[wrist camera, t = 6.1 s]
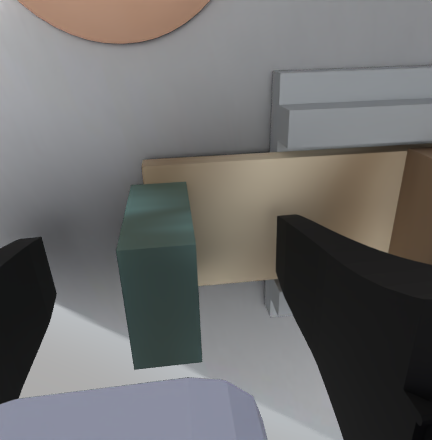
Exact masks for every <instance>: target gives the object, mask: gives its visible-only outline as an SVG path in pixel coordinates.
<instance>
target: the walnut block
mask: <svg viewBox="0 0 432 440" xmlns="http://www.w3.org/2000/svg"><path fill="white" fill-rule="evenodd" d="M388 253H389V254H393V255H396V256H399V257H402V258H406V259H410V260H413V261H417V262H422V263H426V264H430V265H432V147H419V148H408V151H407V156H406V161H405V166H404V172H403V177H402V182H401V187H400V193H399V198H398V203H397V208H396V214H395V219H394V224H393V230H392V235H391V240H390V245H389V251H388Z"/></svg>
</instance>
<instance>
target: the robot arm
mask: <svg viewBox="0 0 432 440" xmlns="http://www.w3.org/2000/svg"><path fill="white" fill-rule="evenodd" d="M276 274H277V277H278V280H279V284H280V287H281V290H282V293H283V295H284V298H285V300H286V302H287V304H288V306H289V308H290V310H291V312H292V314H293V316H294V318H295V320H296V322H297V324H298V326H299V328H300V330H301V332H302V334H303V336H304V338H305V340H306V342H307V344H308V346H309V348H310V350H311V352H312V354H313V356H314V358H315V361H316V363H317V365H318V368H319V371H320V373H321V376H322V379H323V381H324V384H325V387H326V390H327V392H328V395H329V398H330V401H331V404H332V407H333V410H334V412H335V415H336V418H337V421H338V424H339V427H340V430H341V433H342V436H343V439H344V440H432V265H430V264H426V263H422V262H417V261H413V260H410V259H406V258H402V257H399V256H396V255H393V254H389V253H386V252H383V251H380V250H377V249H374V248H372V247H369V246H367V245H364V244H362V243H359V242H357V241H354V240H352V239H350V238H347V237H345V236H343V235H341V234H339V233H336V232H334V231H332V230H330V229H328V228H326V227H324V226H322V225H320V224H318V223H316V222H314V221H312V220H310V219H307V218H305V217H303V216H300V215H297V214H292V215H281V216H277V236H276ZM56 294H57V293H56V289H55V286H54V282H53V278H52V275H51V271H50V267H49V263H48V260H47V256H46V252H45V249H44V245H43V241H42V237H37V238H26V239H19V240H17V241H14V242H12V243H10V244H8V245H6V246H4V247H2V248H1V249H0V440H267V436H266V432H265V428H264V424H263V420H262V417H261V415H260V412H259V410H258V407H257V405H256V402H255V400H254V397H253V396H252V395H250V394H249V393H247V392H245V391H243V390H242V389H240V388H238V387H237V386H235V385H233V384H231V383H230V382H228V381H226V380H220V379H205V378H189V377H187V378H179V379H171V380H163V381H156V382H147V383H139V384H131V385H123V386H115V387H108V388H100V389H91V390H84V391H76V392H67V393H59V394H53V395H43V396H35V397H28V398H20V399H18V398H19V396H20V393H21V390H22V387H23V385H24V383H25V380H26V378H27V375H28V373H29V371H30V368H31V366H32V364H33V361H34V359H35V357H36V354H37V352H38V349H39V347H40V345H41V342H42V339H43V337H44V335H45V333H46V330H47V328H48V325H49V322H50V319H51V315H52V312H53V308H54V303H55V299H56Z"/></svg>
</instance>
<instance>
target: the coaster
mask: <svg viewBox="0 0 432 440" xmlns="http://www.w3.org/2000/svg"><path fill="white" fill-rule="evenodd" d="M18 1H19V2H20V3H21V4H22V5H24V6H25V7H26V8H27V9H29V10H30V11H31V12H32V13H34V14H35V15H36V16H38V17H39V18H41V19H43V20H44V21H46V22H48V23H49V24H51V25H52V26H54V27H56V28H58V29H61V30H63V31H65V32H67V33H69V34H72V35H75V36H78V37H81V38H84V39H87V40H92V41H97V42H103V43H118V44H126V43H136V42H142V41H146V40H150V39H154V38H157V37H160V36H162V35H165V34H167V33H170V32H172V31H173V30H175V29H177V28H178V27H180V26H182V25H183V24H185V23H186V22H187V21H189V20H190V19H191V18H192V17H194V16H195V15H196V14H197V13H199V11H200V10H201V9H202V8H203V7H204V6H205V5H206V4H207V3H208V2H209V1H210V0H18Z"/></svg>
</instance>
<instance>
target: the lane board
mask: <svg viewBox="0 0 432 440" xmlns="http://www.w3.org/2000/svg"><path fill="white" fill-rule="evenodd" d="M427 143H432V65H430V66H402V67H374V68H346V69H318V70H290V71H273V80H272V108H271V136H270V152H287V151H305V150H322V149H340V148H357V147H375V146H392V145H410V144H427ZM265 306H266V309H267V311H268V314H269V316H270V317H283V316H293V314H292V312H291V310H290V308H289V306H288V304H287V302H286V300H285V298H284V295H283V293H282V290H281V287H280V284H279V280H278V279H272V280H265Z"/></svg>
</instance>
